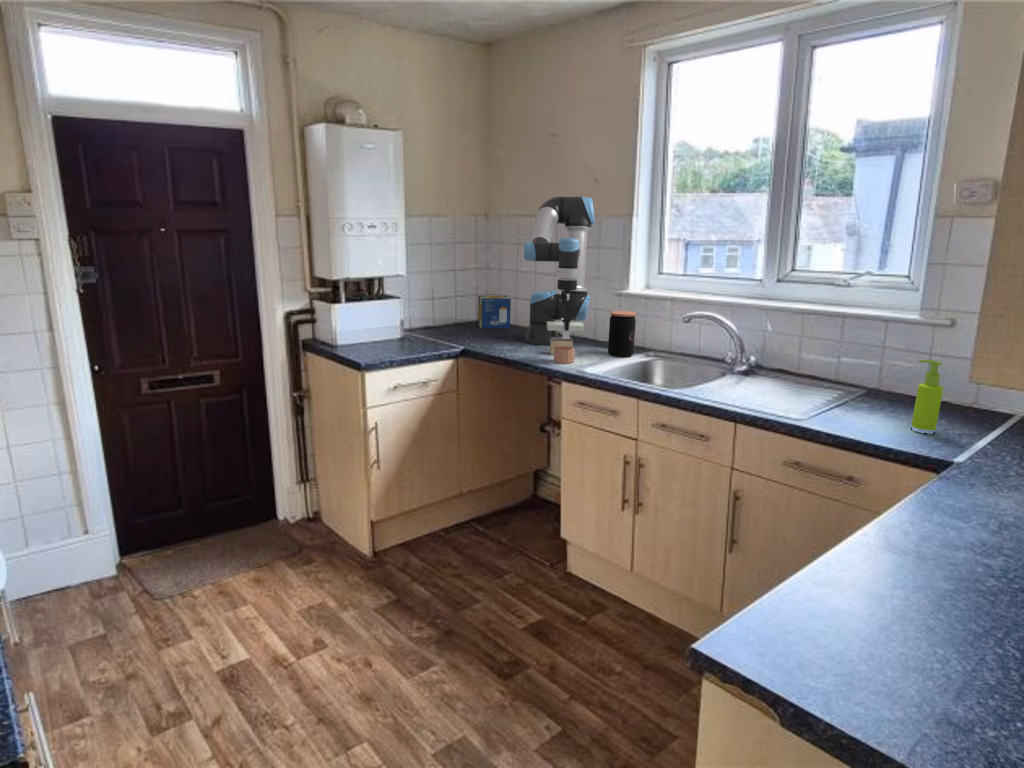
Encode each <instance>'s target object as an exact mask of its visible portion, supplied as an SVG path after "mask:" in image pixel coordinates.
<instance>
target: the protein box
mask: <svg viewBox="0 0 1024 768" xmlns="http://www.w3.org/2000/svg"><path fill="white" fill-rule="evenodd" d="M477 298H478V299H477V304H478V305H477V325H478V327H479V328H481V329H510V328H511V310H512V308H511V306H512V305H511V300H512V299H511V297H509V296H508V295H478V297H477Z"/></svg>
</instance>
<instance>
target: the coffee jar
mask: <svg viewBox="0 0 1024 768" xmlns="http://www.w3.org/2000/svg"><path fill="white" fill-rule="evenodd" d="M609 315H610V318H609V328H608V340H607V341H608V344H607V353H608V354H609V356H610V355H611V357H613V356H615V357H614V358H629V357H628V356H631V355H632V356H633V355H634V353H635V352H634V351H635V340H636V339H635V337H636V325H637V318H636V316H637V313H636V312H634V311H631V310H630V311H629V310H612V311H610V313H609ZM632 356H631V357H632Z"/></svg>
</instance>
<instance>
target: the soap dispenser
mask: <svg viewBox="0 0 1024 768" xmlns="http://www.w3.org/2000/svg"><path fill="white" fill-rule="evenodd" d="M918 363H927V364H930V368H929V371H927V372H925V376H924V382H923V383H919V384H918V386H917V392H916V398H915V403H914V408H913V415H912V420H911V425H912V426H913V427H915V428H918V429H924V430H935V429H936V430H937V425H938V419H939V414H940V409H941V403H942V398H943V392H944V387H943V386H942V385H940V378H941V373H939V371H938V369H939V366H942V364H943V362H941V361H939V360H938V361H937V360H932V359H920V360H918Z"/></svg>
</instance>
